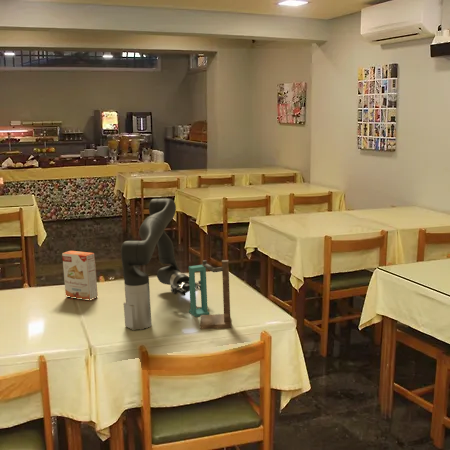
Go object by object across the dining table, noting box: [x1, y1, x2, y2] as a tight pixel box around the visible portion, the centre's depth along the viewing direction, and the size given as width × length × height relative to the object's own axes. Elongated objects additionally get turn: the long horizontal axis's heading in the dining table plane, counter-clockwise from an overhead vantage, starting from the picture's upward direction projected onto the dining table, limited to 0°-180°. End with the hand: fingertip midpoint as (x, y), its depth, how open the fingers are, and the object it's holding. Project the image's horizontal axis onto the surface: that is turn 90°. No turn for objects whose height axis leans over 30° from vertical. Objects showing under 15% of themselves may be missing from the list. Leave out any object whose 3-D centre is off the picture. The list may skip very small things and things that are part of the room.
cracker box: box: [61, 250, 99, 300], centre depth 267 cm, size 14×6×21 cm, turn 62°
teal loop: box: [188, 264, 210, 318], centre depth 241 cm, size 6×7×20 cm
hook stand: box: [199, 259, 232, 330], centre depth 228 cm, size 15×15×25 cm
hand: (194, 291), depth 245 cm, fingers open, 8 cm apart
